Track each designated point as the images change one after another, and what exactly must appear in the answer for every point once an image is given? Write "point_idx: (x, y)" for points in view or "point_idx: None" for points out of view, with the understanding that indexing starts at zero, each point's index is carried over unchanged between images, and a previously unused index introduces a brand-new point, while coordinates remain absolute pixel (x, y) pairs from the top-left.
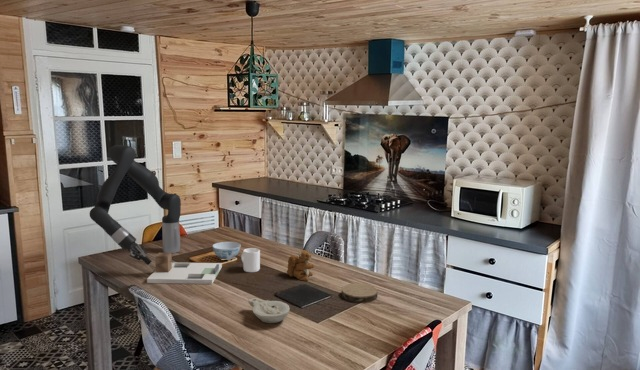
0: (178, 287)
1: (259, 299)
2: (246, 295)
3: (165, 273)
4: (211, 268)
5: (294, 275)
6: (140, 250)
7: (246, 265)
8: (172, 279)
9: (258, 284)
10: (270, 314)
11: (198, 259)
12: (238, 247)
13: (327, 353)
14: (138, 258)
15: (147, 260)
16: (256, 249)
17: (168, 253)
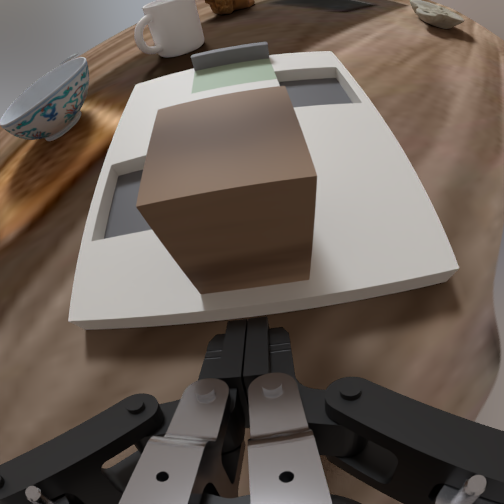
0: (416, 126)
1: (421, 8)
2: (370, 28)
3: (318, 200)
4: (199, 78)
5: (239, 5)
6: (257, 489)
7: (196, 30)
8: (394, 138)
9: (294, 22)
10: (448, 14)
11: (32, 201)
12: (75, 59)
13: (460, 16)
14: (366, 447)
15: (279, 346)
16: (151, 4)
17: (179, 116)
